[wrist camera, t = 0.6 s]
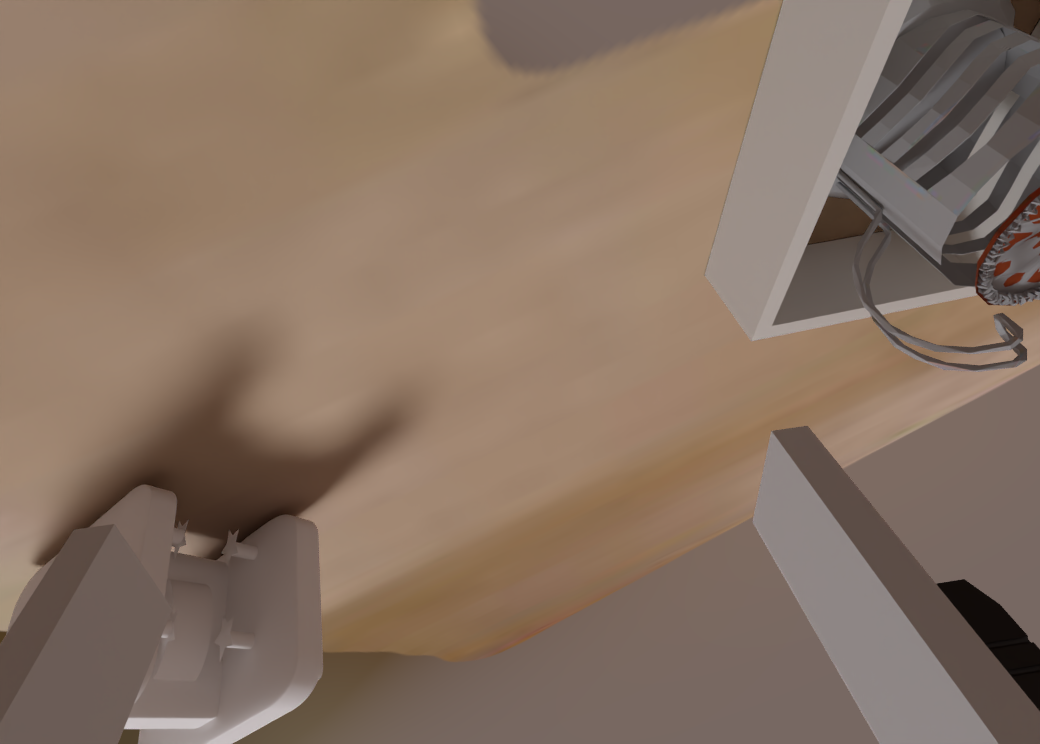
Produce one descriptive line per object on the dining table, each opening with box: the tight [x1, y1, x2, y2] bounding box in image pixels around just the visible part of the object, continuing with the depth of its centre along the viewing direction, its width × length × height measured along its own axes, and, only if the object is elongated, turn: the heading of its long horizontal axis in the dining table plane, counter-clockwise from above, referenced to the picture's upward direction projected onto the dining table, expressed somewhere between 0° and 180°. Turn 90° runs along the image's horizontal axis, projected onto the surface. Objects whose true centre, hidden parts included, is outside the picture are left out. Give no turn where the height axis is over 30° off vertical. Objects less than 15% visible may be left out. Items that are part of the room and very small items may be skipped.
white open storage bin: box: [705, 0, 1040, 341], centre depth 25 cm, size 15×13×5 cm
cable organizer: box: [7, 484, 323, 744], centre depth 34 cm, size 15×11×12 cm
